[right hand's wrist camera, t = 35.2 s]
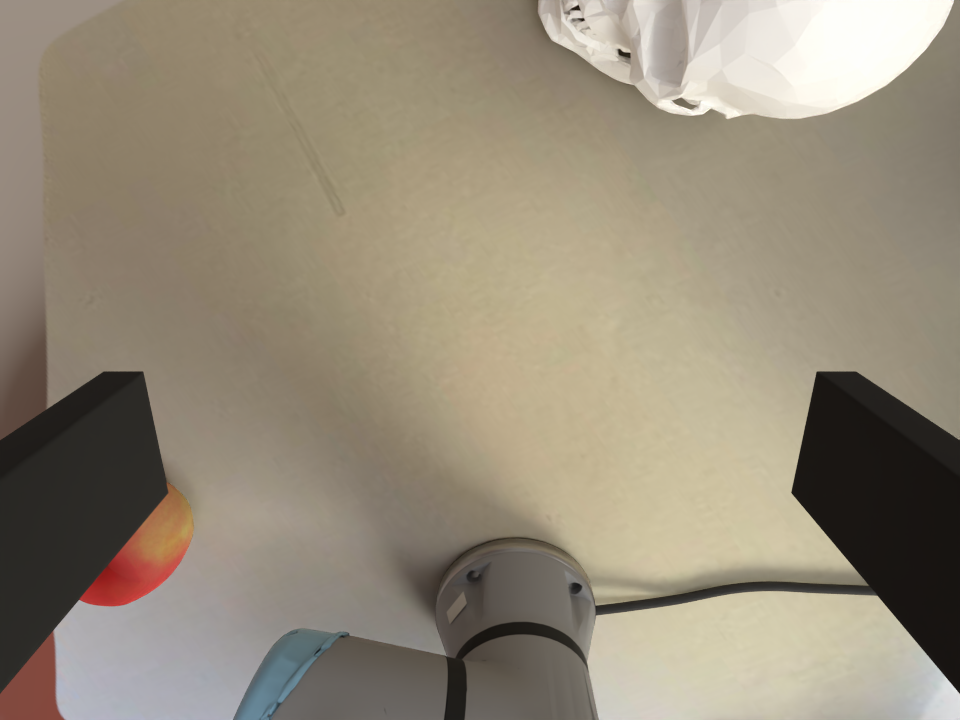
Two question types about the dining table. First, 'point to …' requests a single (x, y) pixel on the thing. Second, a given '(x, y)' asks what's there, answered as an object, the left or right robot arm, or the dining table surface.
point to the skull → (748, 49)
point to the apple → (146, 554)
